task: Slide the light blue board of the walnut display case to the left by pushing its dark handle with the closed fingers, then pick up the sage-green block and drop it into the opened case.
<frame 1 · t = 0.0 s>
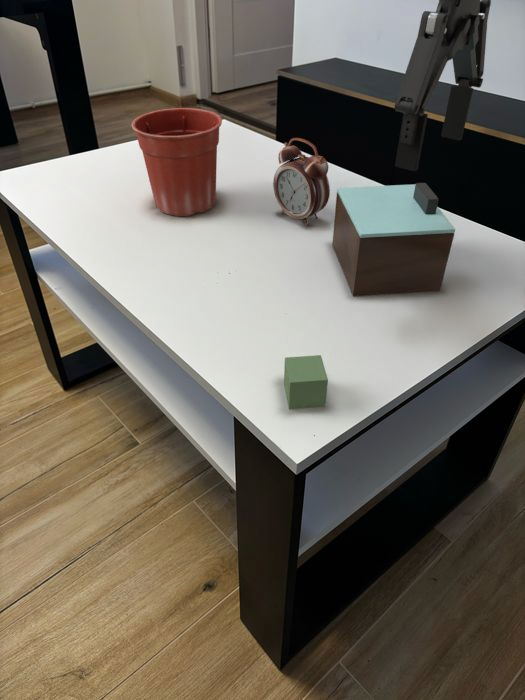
hand: (429, 152, 71), 22 cm above the table, tool pointing down, fingers open, 13 cm apart
light blue board: (393, 201, 83), point 12 cm above the table, slide at 0.0 cm
flower pot: (185, 204, 109), on the table
alarm clock: (300, 219, 104), on the table
block: (304, 395, 67), on the table
case: (382, 266, 90), on the table
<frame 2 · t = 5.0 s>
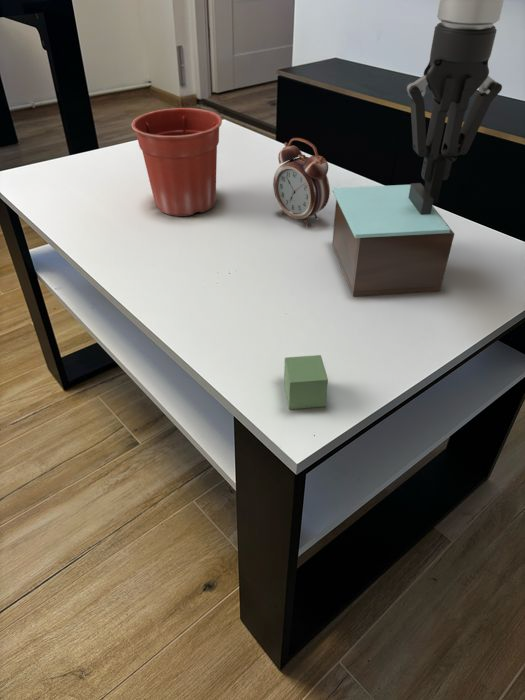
hand: (429, 199, 83), 12 cm above the table, tool pointing down, fingers closed
light blue board: (388, 201, 83), point 12 cm above the table, slide at 0.8 cm, touching gripper
everything else where it was.
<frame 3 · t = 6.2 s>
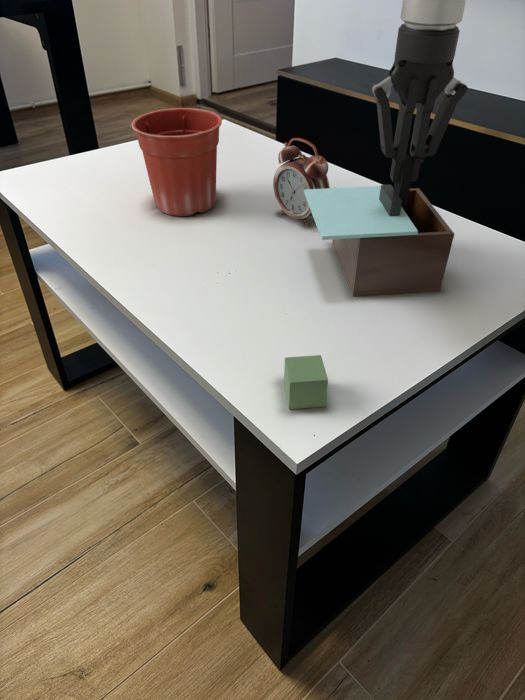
hand: (399, 201, 83), 12 cm above the table, tool pointing down, fingers closed
light blue board: (357, 203, 82), point 12 cm above the table, slide at 5.6 cm, touching gripper
everything else where it was.
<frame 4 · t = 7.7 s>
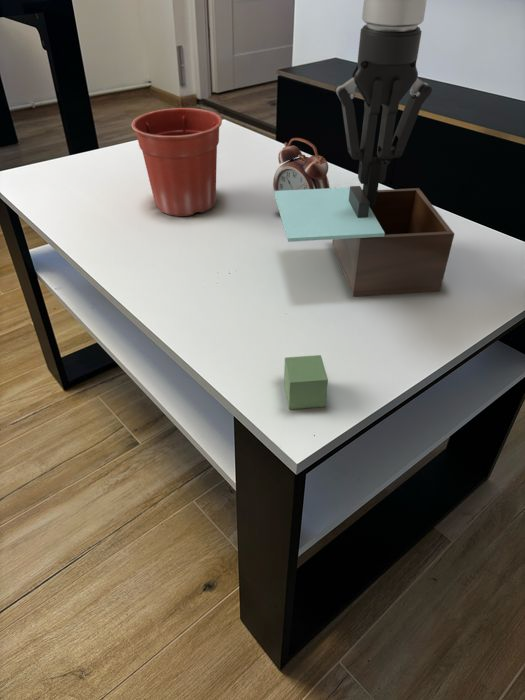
hand: (368, 202, 83), 12 cm above the table, tool pointing down, fingers closed
light blue board: (326, 204, 82), point 12 cm above the table, slide at 10.5 cm, touching gripper
everything else where it was.
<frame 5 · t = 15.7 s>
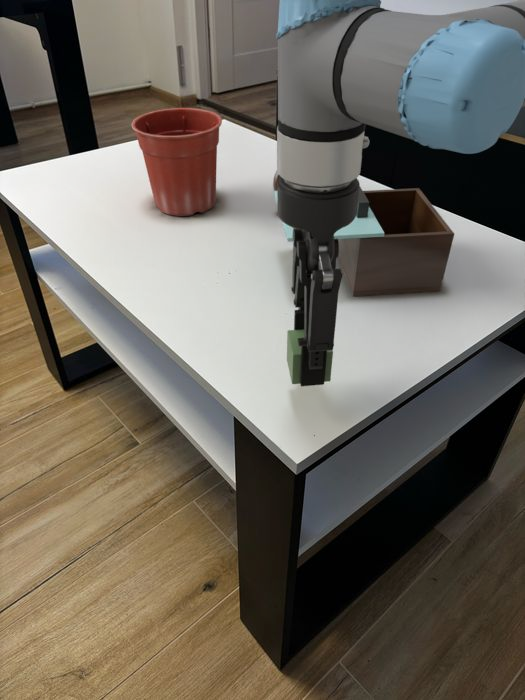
hand: (308, 368, 64), 5 cm above the table, tool pointing down, fingers closed on block, 4 cm apart
light blue board: (326, 204, 82), point 12 cm above the table, slide at 10.5 cm
block: (308, 370, 64), point 4 cm above the table, touching gripper
everything else where it was.
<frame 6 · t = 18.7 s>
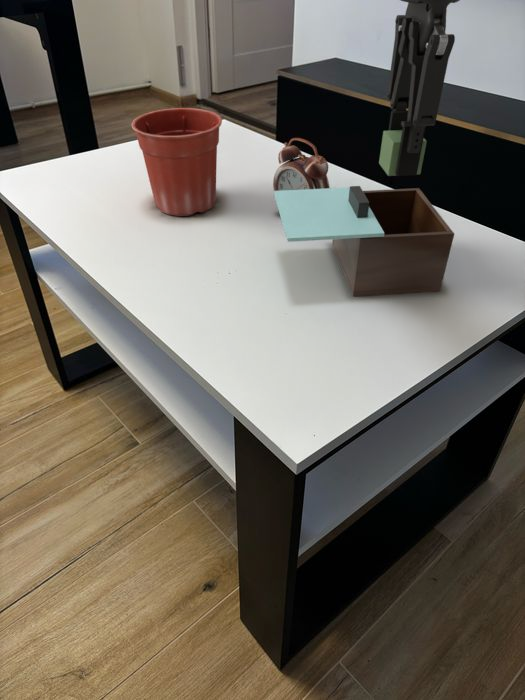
hand: (400, 166, 74), 19 cm above the table, tool pointing down, fingers closed on block, 4 cm apart
block: (399, 168, 74), point 19 cm above the table, touching gripper
everything else where it was.
when the fingers open (6 cm above the table, at t = 22.2 s): block drops 5 cm, resting on case.
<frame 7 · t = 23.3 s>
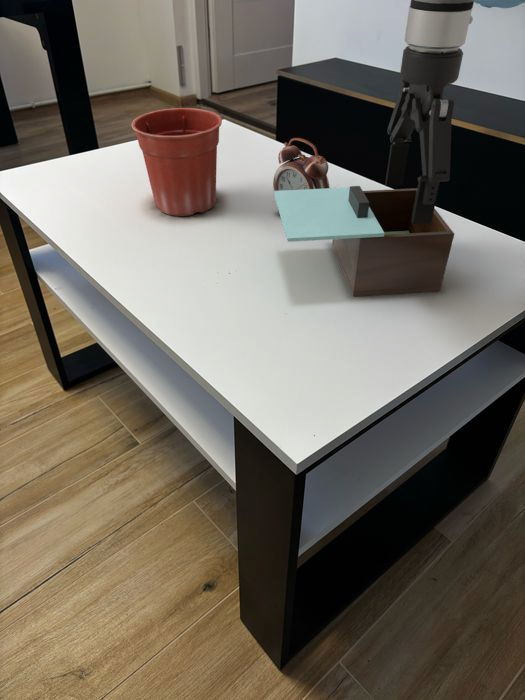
hand: (406, 202, 83), 11 cm above the table, tool pointing down, fingers open, 13 cm apart
block: (394, 262, 90), point 1 cm above the table, touching case
everything else where it was.
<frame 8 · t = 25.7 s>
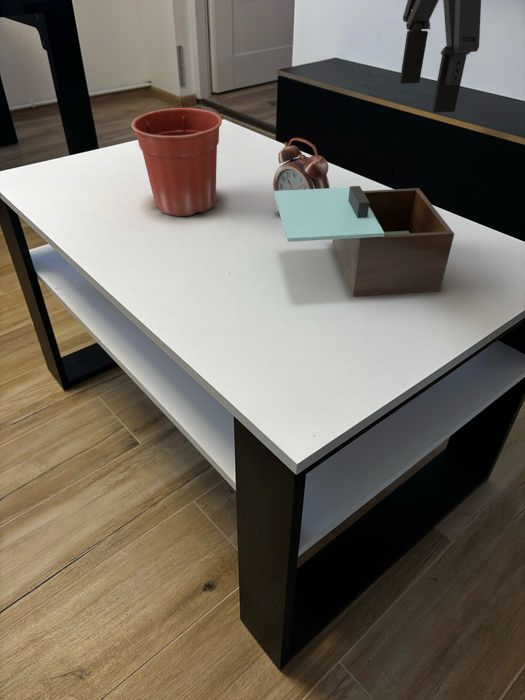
hand: (424, 96, 73), 27 cm above the table, tool pointing down, fingers open, 13 cm apart
nothing on the table moved.
at the end: light blue board slide at 10.5 cm; block inside the target area on the case (1.9 cm from its centre), point 0.8 cm above the case's base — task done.
